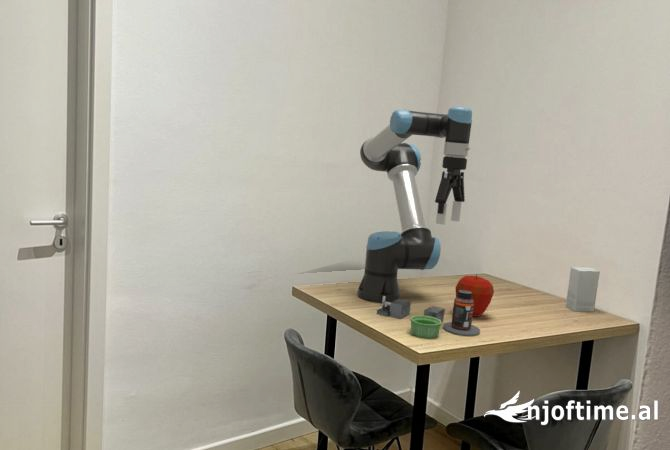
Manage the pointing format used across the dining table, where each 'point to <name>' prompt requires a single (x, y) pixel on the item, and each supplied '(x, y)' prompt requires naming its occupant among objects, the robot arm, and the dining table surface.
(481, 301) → the apple
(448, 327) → the coaster
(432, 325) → the ramekin
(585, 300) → the skincare box
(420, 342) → the dining table surface
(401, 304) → the vise
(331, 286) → the dining table surface
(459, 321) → the supplement bottle
